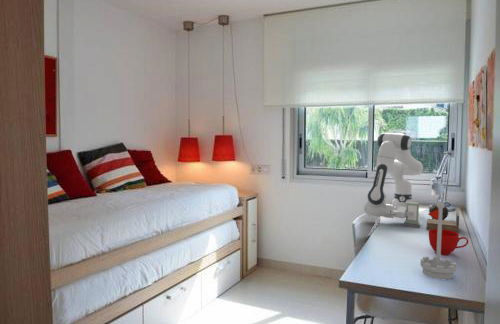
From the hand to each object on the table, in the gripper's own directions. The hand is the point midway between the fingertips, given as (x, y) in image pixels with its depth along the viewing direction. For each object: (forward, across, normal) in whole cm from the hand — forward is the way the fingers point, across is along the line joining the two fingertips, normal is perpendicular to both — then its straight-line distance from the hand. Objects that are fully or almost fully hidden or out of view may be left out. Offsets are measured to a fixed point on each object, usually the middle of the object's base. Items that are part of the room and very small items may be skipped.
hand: (413, 213), depth 235 cm
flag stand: (+14, -87, +8) cm, 88 cm away
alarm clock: (+14, +20, +8) cm, 26 cm away
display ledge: (+16, 0, +8) cm, 18 cm away
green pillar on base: (-1, 0, +8) cm, 8 cm away
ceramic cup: (+18, -54, +8) cm, 57 cm away
